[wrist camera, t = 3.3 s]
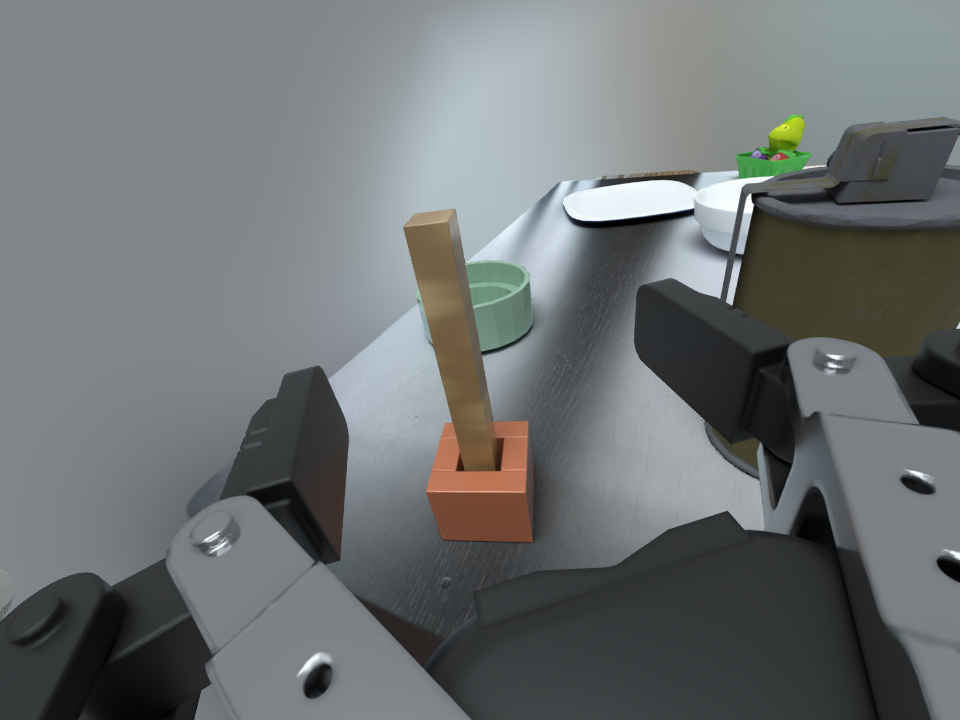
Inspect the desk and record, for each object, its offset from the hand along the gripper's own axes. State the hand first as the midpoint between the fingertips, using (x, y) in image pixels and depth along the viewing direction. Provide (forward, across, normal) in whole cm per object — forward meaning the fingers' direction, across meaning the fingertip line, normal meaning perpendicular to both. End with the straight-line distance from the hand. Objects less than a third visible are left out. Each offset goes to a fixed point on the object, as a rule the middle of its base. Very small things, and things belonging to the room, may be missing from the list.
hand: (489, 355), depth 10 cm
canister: (+9, -22, +19) cm, 30 cm away
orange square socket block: (+10, 0, +19) cm, 21 cm away
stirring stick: (+10, 0, +19) cm, 21 cm away
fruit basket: (+66, -72, +19) cm, 100 cm away
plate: (+70, -44, +19) cm, 85 cm away
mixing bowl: (+36, -5, +19) cm, 41 cm away
